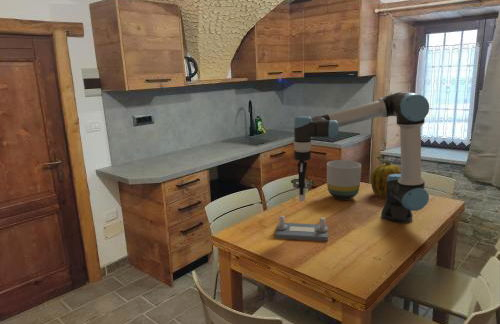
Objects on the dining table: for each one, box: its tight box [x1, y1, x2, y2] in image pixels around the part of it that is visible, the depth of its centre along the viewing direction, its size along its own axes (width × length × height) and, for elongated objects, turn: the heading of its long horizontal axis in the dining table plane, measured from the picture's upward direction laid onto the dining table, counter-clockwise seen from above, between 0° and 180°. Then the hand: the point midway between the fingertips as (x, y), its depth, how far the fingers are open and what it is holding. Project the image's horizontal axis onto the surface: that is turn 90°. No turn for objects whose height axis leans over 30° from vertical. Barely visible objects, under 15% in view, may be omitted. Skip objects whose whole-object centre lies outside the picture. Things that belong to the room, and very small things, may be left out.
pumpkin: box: [370, 154, 401, 199], centre depth 227 cm, size 19×19×25 cm
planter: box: [326, 159, 362, 201], centre depth 225 cm, size 20×20×21 cm
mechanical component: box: [290, 178, 314, 190], centre depth 177 cm, size 3×10×10 cm, turn 78°
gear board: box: [274, 215, 329, 242], centre depth 180 cm, size 24×14×8 cm, turn 79°
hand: (301, 199), depth 178 cm, fingers closed on mechanical component, 3 cm apart
